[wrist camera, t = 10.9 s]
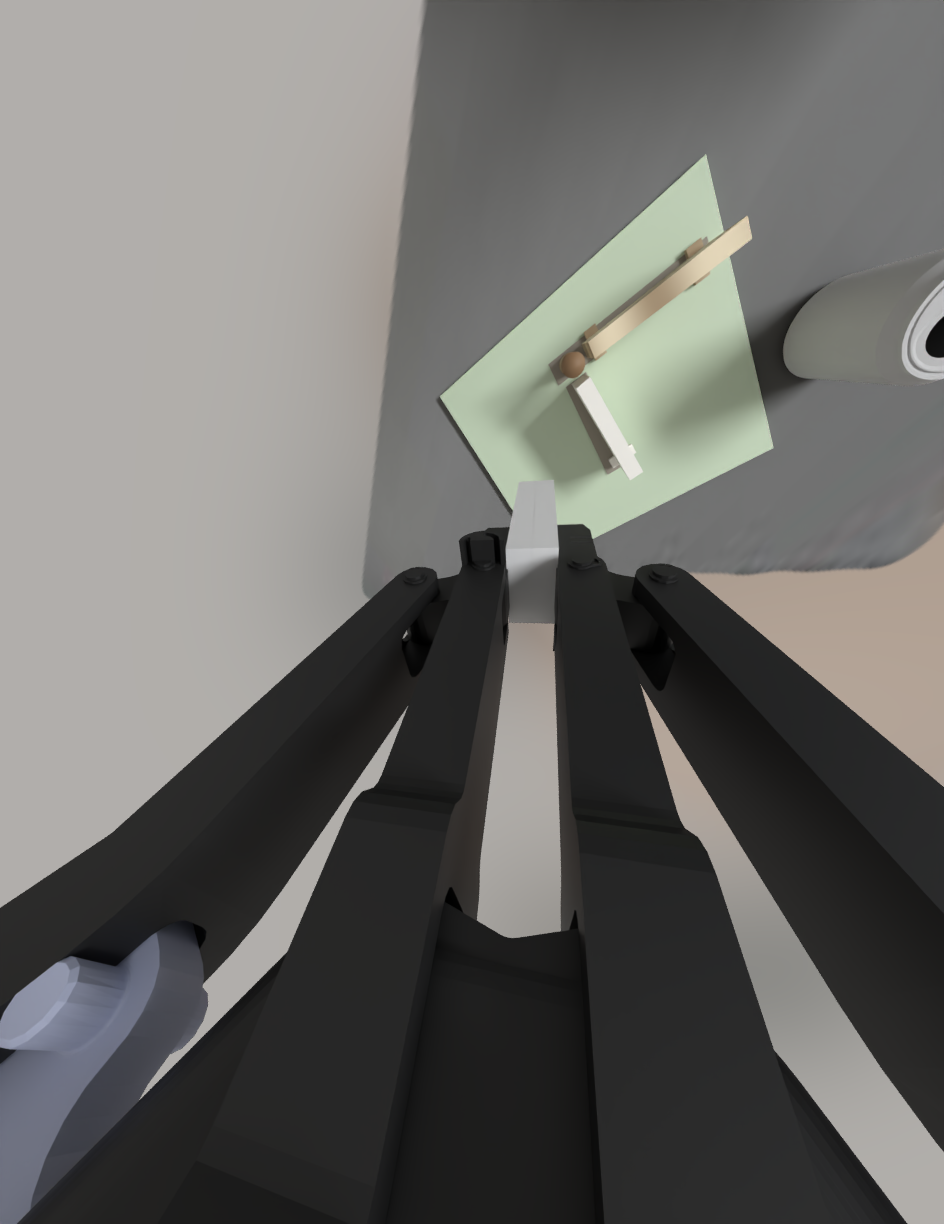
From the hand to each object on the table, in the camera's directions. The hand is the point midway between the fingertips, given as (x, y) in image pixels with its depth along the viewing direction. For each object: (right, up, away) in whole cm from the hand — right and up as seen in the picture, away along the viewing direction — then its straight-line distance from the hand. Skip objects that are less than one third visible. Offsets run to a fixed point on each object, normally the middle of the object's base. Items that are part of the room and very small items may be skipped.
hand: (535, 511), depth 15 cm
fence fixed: (+10, +20, +13) cm, 26 cm away
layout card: (+10, +14, +18) cm, 25 cm away
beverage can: (+26, +18, +12) cm, 34 cm away
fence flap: (+10, +14, +17) cm, 24 cm away
